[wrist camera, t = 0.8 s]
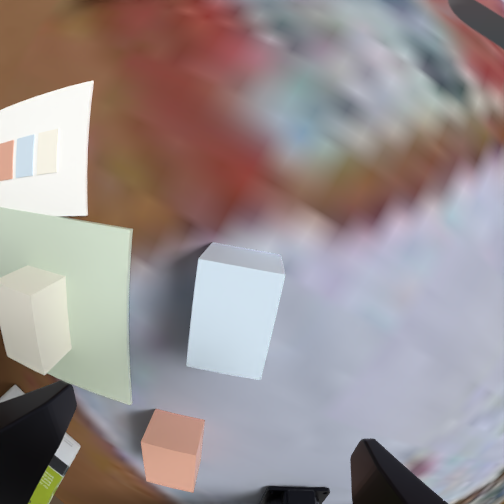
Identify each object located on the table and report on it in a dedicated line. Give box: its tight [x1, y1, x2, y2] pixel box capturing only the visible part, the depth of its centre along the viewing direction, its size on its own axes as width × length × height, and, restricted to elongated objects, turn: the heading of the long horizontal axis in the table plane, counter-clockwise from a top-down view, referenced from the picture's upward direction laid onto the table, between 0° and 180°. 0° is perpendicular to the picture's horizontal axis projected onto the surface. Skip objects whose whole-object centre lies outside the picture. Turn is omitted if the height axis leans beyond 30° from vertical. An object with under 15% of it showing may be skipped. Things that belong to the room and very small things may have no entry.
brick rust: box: [141, 409, 205, 493], centre depth 19 cm, size 6×4×4 cm, turn 171°
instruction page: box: [0, 81, 94, 216], centre depth 16 cm, size 9×12×1 cm
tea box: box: [0, 385, 80, 504], centre depth 16 cm, size 15×10×15 cm, turn 134°
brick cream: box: [0, 265, 72, 375], centre depth 17 cm, size 6×4×4 cm, turn 170°
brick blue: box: [186, 242, 285, 380], centre depth 16 cm, size 6×4×4 cm, turn 170°
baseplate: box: [0, 207, 133, 405], centre depth 19 cm, size 14×14×1 cm
